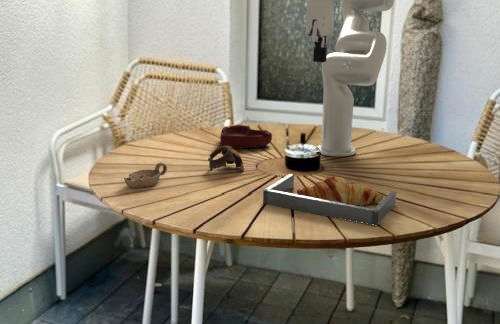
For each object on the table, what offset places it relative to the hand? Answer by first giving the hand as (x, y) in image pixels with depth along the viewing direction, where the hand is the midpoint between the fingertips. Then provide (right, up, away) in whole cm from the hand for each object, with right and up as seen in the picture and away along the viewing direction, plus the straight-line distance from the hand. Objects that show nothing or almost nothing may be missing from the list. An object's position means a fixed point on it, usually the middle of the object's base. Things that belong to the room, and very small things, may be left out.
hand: (319, 61), depth 164 cm
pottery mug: (-26, -30, +7) cm, 41 cm away
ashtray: (-23, -23, +34) cm, 46 cm away
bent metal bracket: (0, -38, -20) cm, 43 cm away
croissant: (+3, -38, -18) cm, 43 cm away
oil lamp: (-47, -34, -7) cm, 58 cm away
